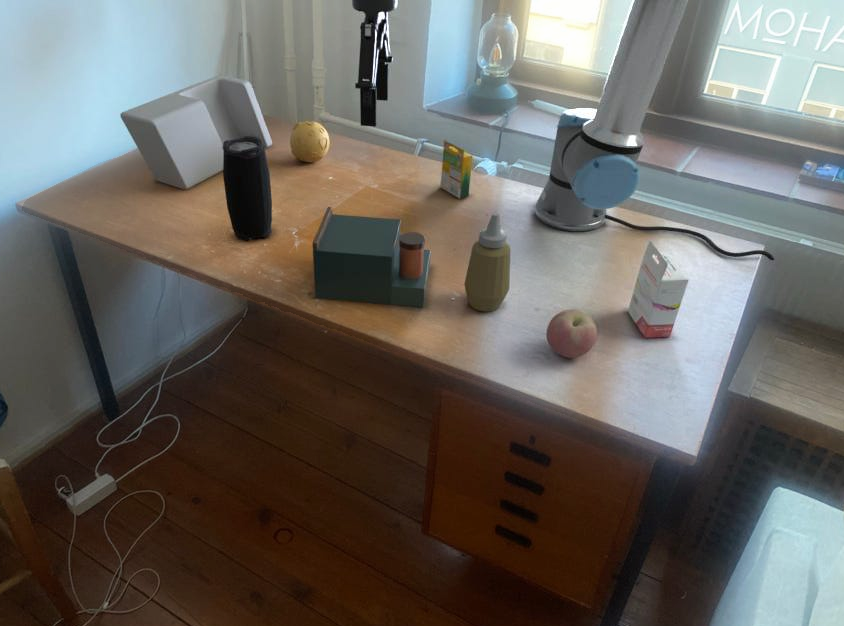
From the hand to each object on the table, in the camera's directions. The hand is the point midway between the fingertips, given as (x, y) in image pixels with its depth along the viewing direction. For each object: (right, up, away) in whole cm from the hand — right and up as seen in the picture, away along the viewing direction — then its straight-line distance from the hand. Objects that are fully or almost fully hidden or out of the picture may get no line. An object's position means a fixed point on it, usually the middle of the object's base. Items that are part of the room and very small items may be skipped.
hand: (374, 112), depth 130 cm
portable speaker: (-26, -19, +20) cm, 38 cm away
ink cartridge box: (+49, -39, -4) cm, 62 cm away
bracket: (-42, +2, +46) cm, 62 cm away
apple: (+32, -44, -11) cm, 56 cm away
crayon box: (+18, -6, +37) cm, 42 cm away
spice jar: (+7, -29, +1) cm, 30 cm away
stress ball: (-17, +5, +50) cm, 53 cm away
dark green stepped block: (0, -31, +6) cm, 31 cm away
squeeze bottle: (+20, -35, +1) cm, 40 cm away
